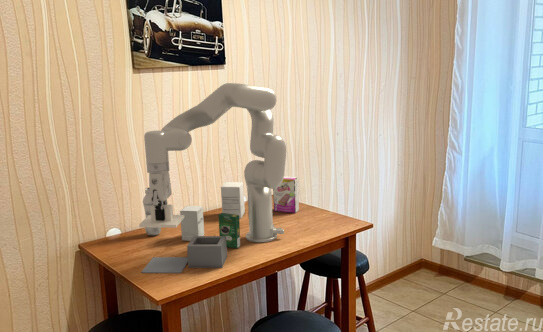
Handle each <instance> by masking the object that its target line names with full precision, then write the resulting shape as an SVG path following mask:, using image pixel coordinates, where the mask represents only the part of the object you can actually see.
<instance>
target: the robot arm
mask: <svg viewBox="0 0 543 332" xmlns="http://www.w3.org/2000/svg"><path fill="white" fill-rule="evenodd" d="M276 103H277V96H276V94H275V91H274V90H272V89H270V88H268V87H262V86H255V85H249V84H245V83H237V82H236V83H235V82H233V83H232V82H227V83H224V84H222V85H220V86H219V87H218V88H216V89H215V90H214V91H213V92H212V93H211V94H209V95H208V96H207V97H206V98H205V99H203V100H201V102H199V103H198V104H197V105H194V106H193V107H191V108H189V109H188V110H186V111H184V112H182V113H180V114H178V115H177V116H175V117H174V118H172V119H171V120H170V121H169V122H168V123H167V124H165V125H164V126H163V127H162V128H161V129H160V130H149V131H147V132H145V133H144V137H143V138H144V150H145V165H146V172H147V174H148V175H149V176H148V179H149V180H148V183H149V187H148V188H149V189H150V199H151V201H153V206H154V208H155V218H156V220H165V211H164V209H163V205H168V199H169V198H170V197H172V186H171V185H172V184H171V177H170V176H171V175H170V159H169V152H171V151H175V152H176V151H177V152H180V151H184V150H187V149H188V148H189V147H190V146H191V145H192V142H193V141H192V140H193V137H192V135H191V133H190V132H191V131H194V130H196V129H198V128H204V127H207V126H210V125H212V124H214V123H216V121H218V120H219V119H221V117H222V116H223V115H225V114H226V113H227V112H228V111H229V110H231V109H232V108H241V109H246V110H247V112H248V114H249V115H250V118H251V130H250V139H249V140H250V141H249V149H250V153H251V154H252V155H253V156H256V157H258V158H262V159H263V160H261V159H254V160H250V161H249V162H248V163H247V164H246V165H245V167H244V171H243V172H244V173H243V174H244V175H243V176H244V181H245V185H246V189H247V191H246V192H247V207H248V208H247V209H248V228H249V229H248V232H246V234H245V239H246V240H247V241H248V242H252V243H267V242H272V241H274V240H275V239H277V237H278V235H279V234H280V235H284V234H285V230H284V228H282V227H275V224H274V223H273V222H274V221H273V193H272V190H273V189H274V188H277V187H278V186H280V184H281V183H282V181H283V178H284V176H285V170H286V158H287V144H286V142H285V140H284V138H282V137H281V136H279V135H277V134H274V124H275V123H274V116H273V112H272V110H273V108H275V106H276V105H277V104H276ZM271 189H272V190H271Z"/></svg>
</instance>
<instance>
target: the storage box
mask: <svg viewBox="0 0 543 332" xmlns="http://www.w3.org/2000/svg"><path fill="white" fill-rule="evenodd" d="M186 250H187V257H188V263H187V265H188V268H190V269H192V268H195V269H196V268H198V269H200V268H201V269H202V268H204V269H207V268H208V269H211V268H213V269H217V268H219V269H223V267H224V265H225V263H226V262H227V261H226V260H227V258H228V247H227V243H226V236H219V235H203V236H194V237H193V238H192V240H191V241H189V242H188V244H187V245H186Z"/></svg>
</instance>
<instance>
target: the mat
mask: <svg viewBox="0 0 543 332" xmlns="http://www.w3.org/2000/svg"><path fill="white" fill-rule="evenodd" d="M186 265H188V256H180V257H179V256H178V257H177V256H176V257H175V256H163V257H162V256H161V257H160V256H157V257H156V256H153V257H152V258H151V259H150V260H149V262H148V263H147V264H146V265H145V266H144V268H143V269H142V270H141V274H182V272H183V271H184V269H185V268H186Z"/></svg>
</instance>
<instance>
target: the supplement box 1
mask: <svg viewBox="0 0 543 332" xmlns="http://www.w3.org/2000/svg"><path fill="white" fill-rule="evenodd" d="M203 209H204V208H203V206H202V205H186V206H184V207H183V208H182V209H181V210H180V211H179V212H180V213H179V215H184V219H183V220H182V221H181V222H180V228H181V240H182V241H188V242H190V241H191V240H192V238H193V237H194V236H205V225H204V224H205V223H204V210H203Z"/></svg>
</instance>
